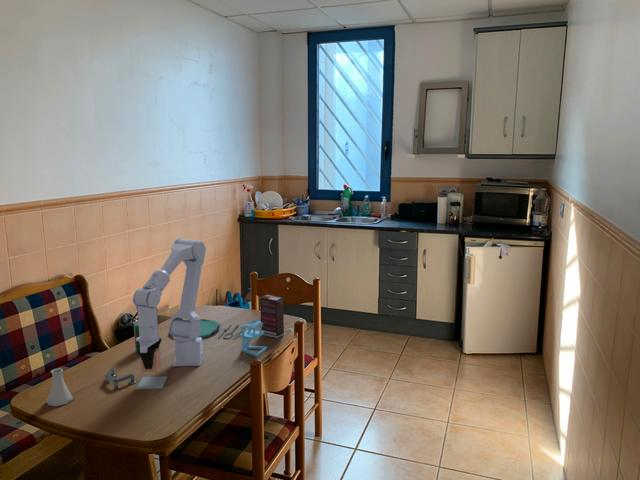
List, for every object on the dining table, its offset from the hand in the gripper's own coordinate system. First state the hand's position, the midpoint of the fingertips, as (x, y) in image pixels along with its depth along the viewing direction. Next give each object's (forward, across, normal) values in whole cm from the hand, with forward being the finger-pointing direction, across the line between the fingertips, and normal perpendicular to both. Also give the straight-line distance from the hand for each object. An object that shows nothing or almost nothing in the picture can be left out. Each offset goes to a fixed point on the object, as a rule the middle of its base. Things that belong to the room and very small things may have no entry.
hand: (150, 364), depth 165 cm
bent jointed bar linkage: (+6, -1, -10) cm, 12 cm away
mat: (+6, 0, 0) cm, 6 cm away
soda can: (+7, -26, -10) cm, 29 cm away
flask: (+7, +10, -25) cm, 28 cm away
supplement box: (+7, -40, +38) cm, 56 cm away
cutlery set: (+7, -45, +11) cm, 47 cm away
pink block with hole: (+1, 0, 0) cm, 1 cm away
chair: (+7, -24, +31) cm, 40 cm away
